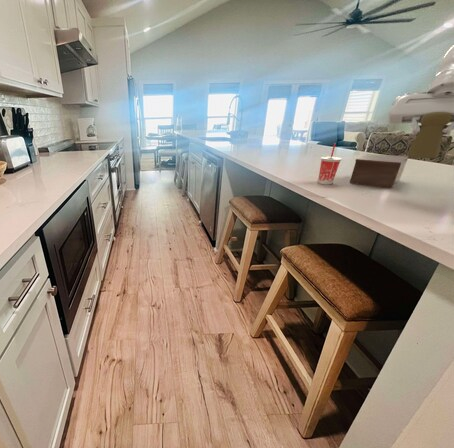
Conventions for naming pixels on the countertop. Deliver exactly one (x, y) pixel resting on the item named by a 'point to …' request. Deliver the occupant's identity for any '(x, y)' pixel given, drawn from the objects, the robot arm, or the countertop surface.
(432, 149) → the cork
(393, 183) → the chest
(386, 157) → the lid
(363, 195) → the countertop surface
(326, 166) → the beverage cup
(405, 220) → the countertop surface
